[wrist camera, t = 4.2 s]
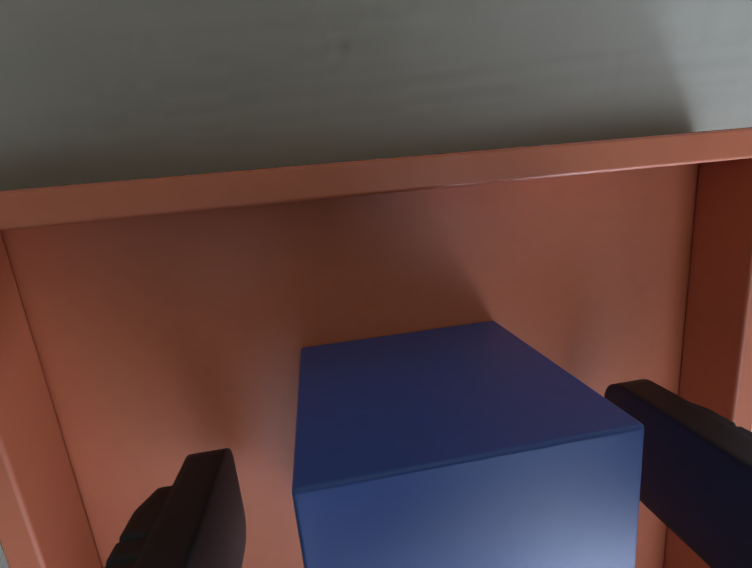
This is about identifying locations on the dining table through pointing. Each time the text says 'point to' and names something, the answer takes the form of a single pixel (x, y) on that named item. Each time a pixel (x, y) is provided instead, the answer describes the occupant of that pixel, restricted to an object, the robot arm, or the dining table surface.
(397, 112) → the dining table surface
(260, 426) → the clay tray
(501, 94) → the dining table surface
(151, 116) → the dining table surface
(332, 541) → the blue block
